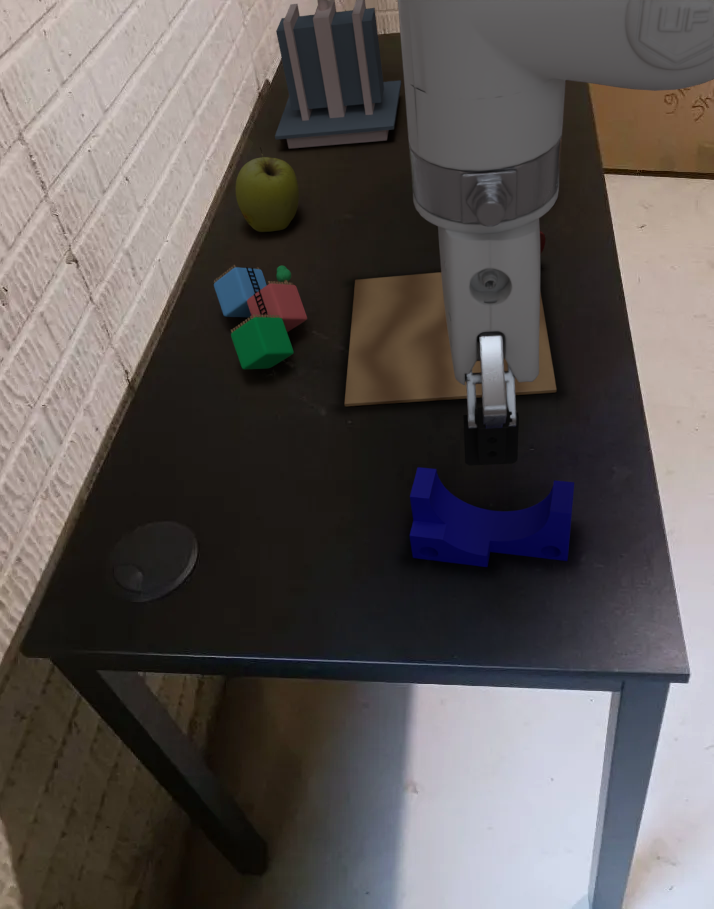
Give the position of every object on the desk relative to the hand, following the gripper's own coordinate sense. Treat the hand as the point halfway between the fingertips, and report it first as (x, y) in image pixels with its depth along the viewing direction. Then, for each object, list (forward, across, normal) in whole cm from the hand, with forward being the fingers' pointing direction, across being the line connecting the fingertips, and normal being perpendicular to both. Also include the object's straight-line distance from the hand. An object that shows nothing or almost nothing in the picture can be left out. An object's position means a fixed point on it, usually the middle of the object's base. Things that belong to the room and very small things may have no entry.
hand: (486, 406), depth 54 cm
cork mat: (+16, +27, +3) cm, 31 cm away
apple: (+16, +51, +24) cm, 59 cm away
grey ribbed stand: (+16, +76, +16) cm, 80 cm away
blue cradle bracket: (+16, 0, 0) cm, 16 cm away
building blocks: (+16, +28, +23) cm, 40 cm away
